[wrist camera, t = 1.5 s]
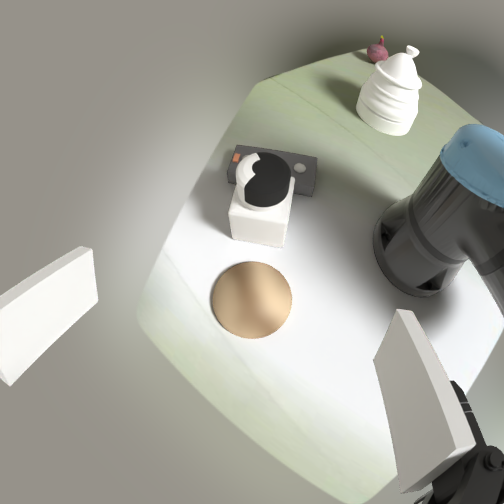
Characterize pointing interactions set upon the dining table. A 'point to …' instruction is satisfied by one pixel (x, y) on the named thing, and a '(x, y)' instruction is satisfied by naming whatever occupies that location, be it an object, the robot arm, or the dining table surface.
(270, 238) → the medicine bottle
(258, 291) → the coaster
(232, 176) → the power strip
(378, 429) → the dining table surface
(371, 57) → the vegetable
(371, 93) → the honey pot
